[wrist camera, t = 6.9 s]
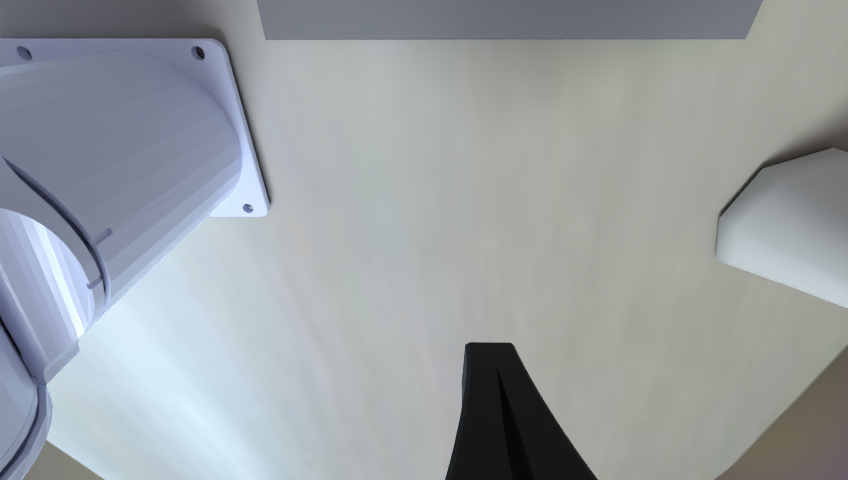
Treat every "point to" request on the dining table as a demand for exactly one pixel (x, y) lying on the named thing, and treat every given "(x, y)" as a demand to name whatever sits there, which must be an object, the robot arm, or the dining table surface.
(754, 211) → the flask
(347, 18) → the cap plate
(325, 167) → the dining table surface
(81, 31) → the dining table surface
